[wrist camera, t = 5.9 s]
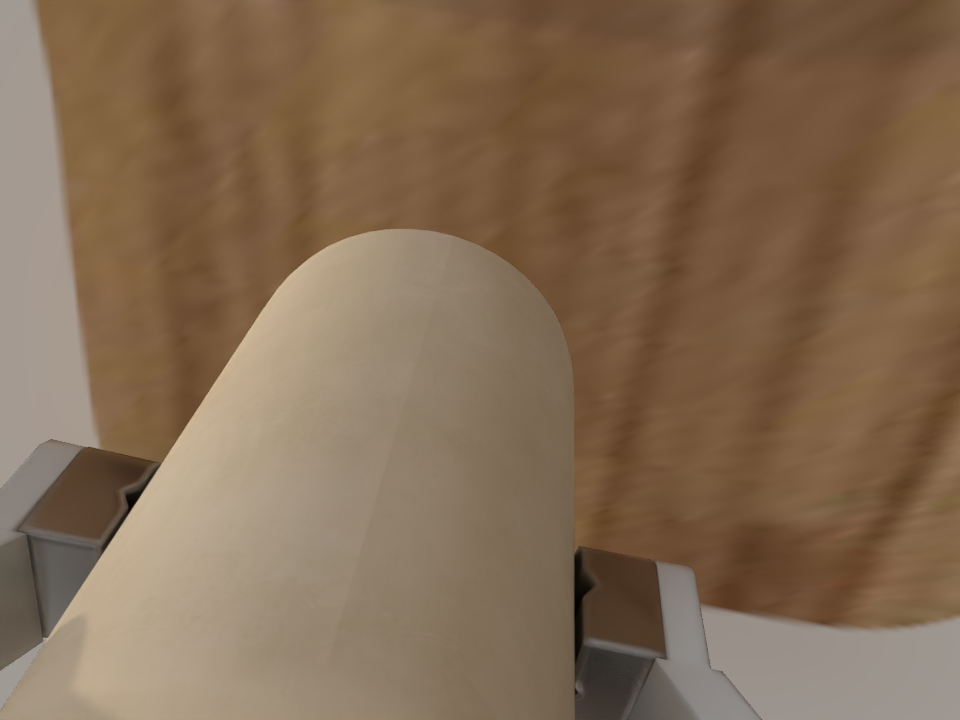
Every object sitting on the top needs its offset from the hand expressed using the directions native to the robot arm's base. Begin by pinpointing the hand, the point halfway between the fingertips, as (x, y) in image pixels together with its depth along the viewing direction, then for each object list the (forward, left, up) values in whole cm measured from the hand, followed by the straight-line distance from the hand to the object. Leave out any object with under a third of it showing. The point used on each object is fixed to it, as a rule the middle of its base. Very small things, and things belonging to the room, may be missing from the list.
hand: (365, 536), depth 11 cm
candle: (0, 0, -4) cm, 4 cm away
